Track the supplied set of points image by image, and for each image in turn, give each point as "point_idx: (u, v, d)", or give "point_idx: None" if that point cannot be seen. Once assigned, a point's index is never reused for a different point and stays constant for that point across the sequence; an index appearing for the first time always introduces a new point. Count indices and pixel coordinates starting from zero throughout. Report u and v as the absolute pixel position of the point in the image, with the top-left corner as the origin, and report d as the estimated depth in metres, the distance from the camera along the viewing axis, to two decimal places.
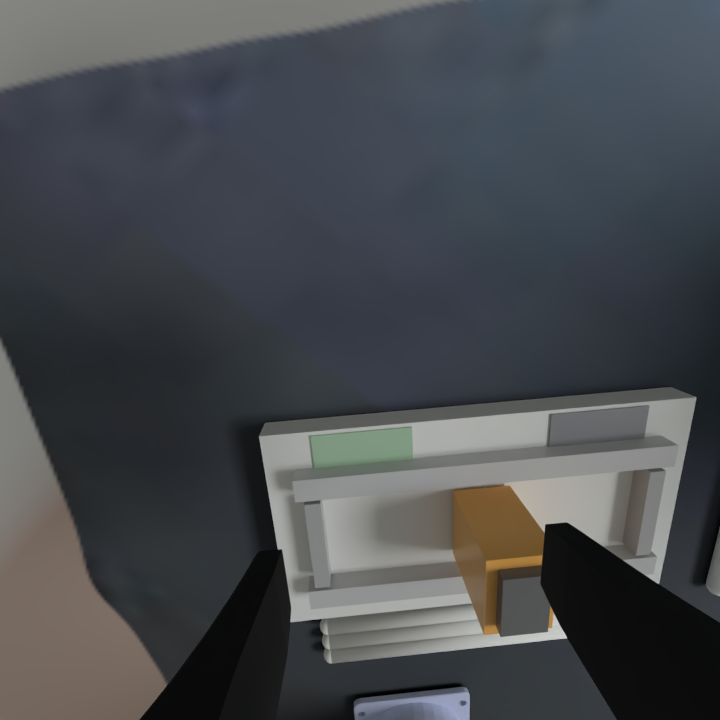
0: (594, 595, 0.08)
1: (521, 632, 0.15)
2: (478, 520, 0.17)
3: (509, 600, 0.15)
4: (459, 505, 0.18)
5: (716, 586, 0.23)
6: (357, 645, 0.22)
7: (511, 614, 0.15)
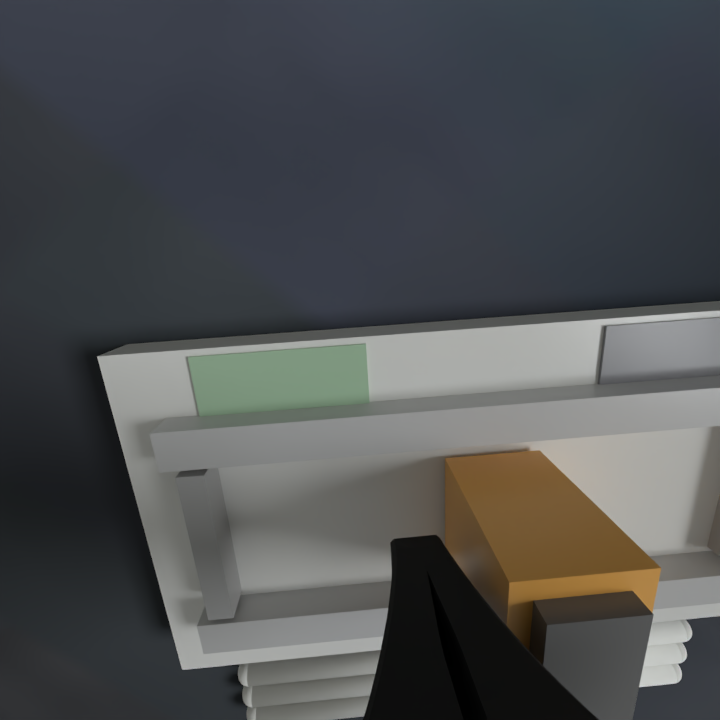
0: (434, 611, 0.08)
1: None
2: (489, 504, 0.09)
3: (557, 666, 0.07)
4: (455, 480, 0.10)
5: None
6: (294, 701, 0.15)
7: None
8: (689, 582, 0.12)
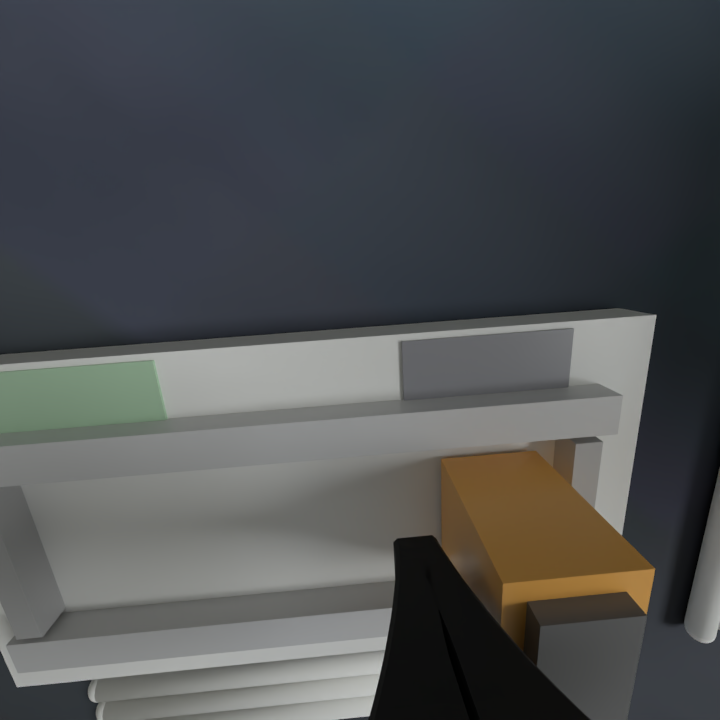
0: None
1: None
2: (484, 504, 0.09)
3: (551, 667, 0.07)
4: (451, 480, 0.10)
5: (698, 628, 0.15)
6: (147, 717, 0.15)
7: None
8: None
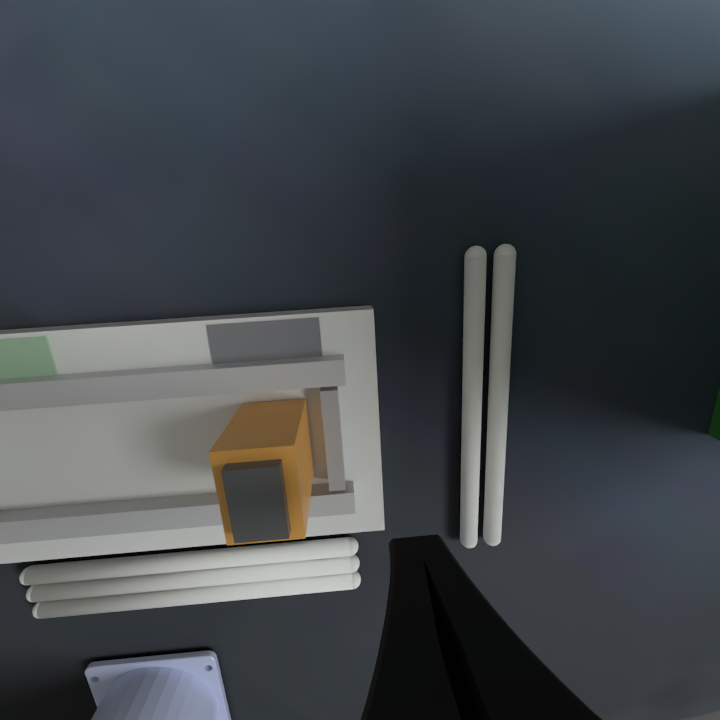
0: (436, 611, 0.08)
1: (260, 539, 0.13)
2: (240, 423, 0.15)
3: (234, 497, 0.13)
4: (236, 413, 0.16)
5: (463, 537, 0.21)
6: (62, 597, 0.20)
7: (240, 515, 0.13)
8: None
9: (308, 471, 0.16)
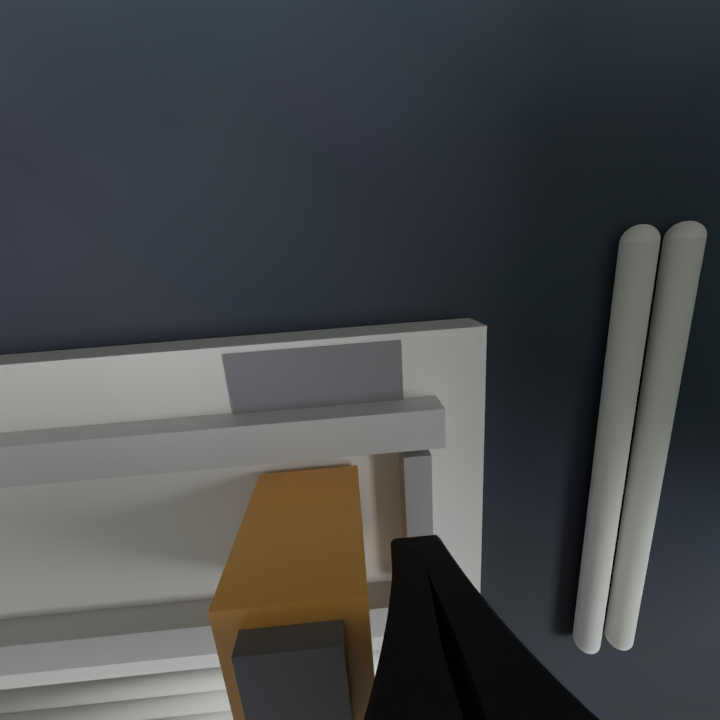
0: (434, 611, 0.08)
1: None
2: (260, 524, 0.09)
3: (257, 698, 0.07)
4: (252, 498, 0.10)
5: (582, 639, 0.15)
6: None
7: None
8: None
9: None
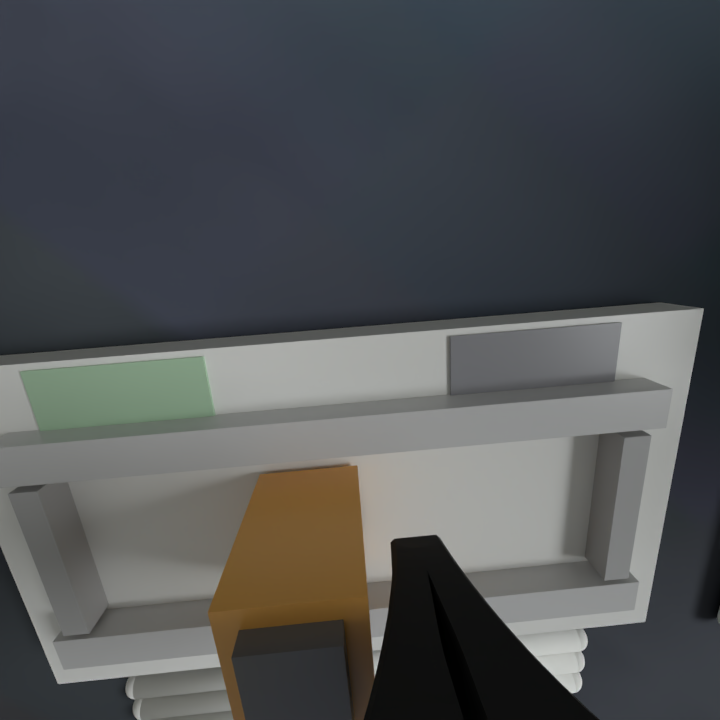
0: (434, 611, 0.08)
1: None
2: (260, 525, 0.09)
3: (257, 698, 0.07)
4: (252, 498, 0.10)
5: None
6: (184, 714, 0.15)
7: None
8: (557, 594, 0.12)
9: None
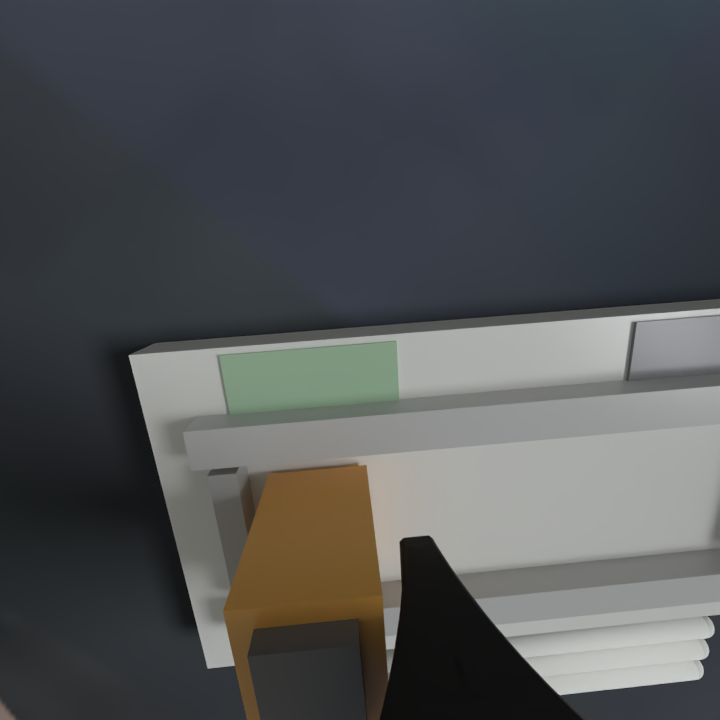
0: None
1: None
2: (272, 524, 0.09)
3: (272, 697, 0.07)
4: (262, 497, 0.10)
5: None
6: None
7: None
8: (716, 578, 0.12)
9: None
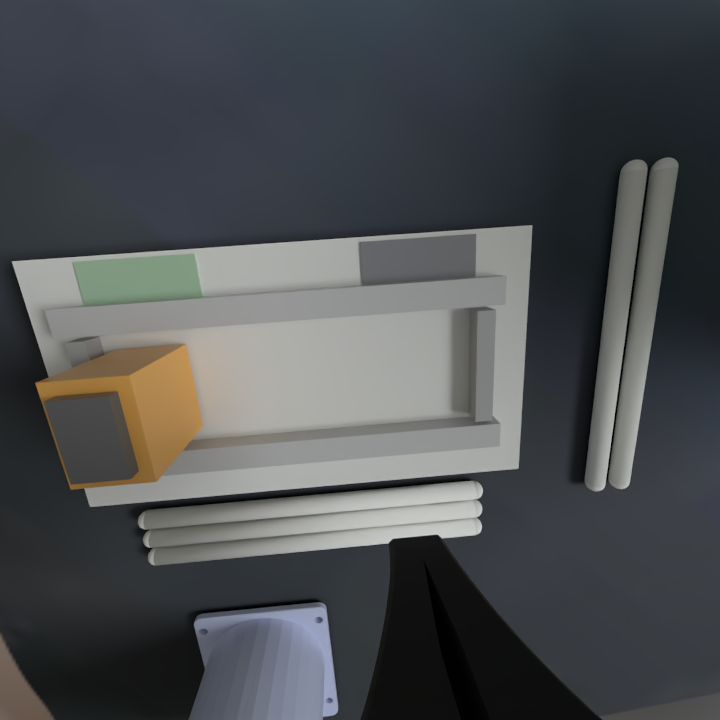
0: (435, 611, 0.08)
1: (100, 480, 0.12)
2: (96, 362, 0.14)
3: (63, 432, 0.12)
4: (103, 356, 0.15)
5: (592, 479, 0.20)
6: (181, 542, 0.20)
7: (73, 452, 0.12)
8: (443, 431, 0.17)
9: (182, 418, 0.15)
